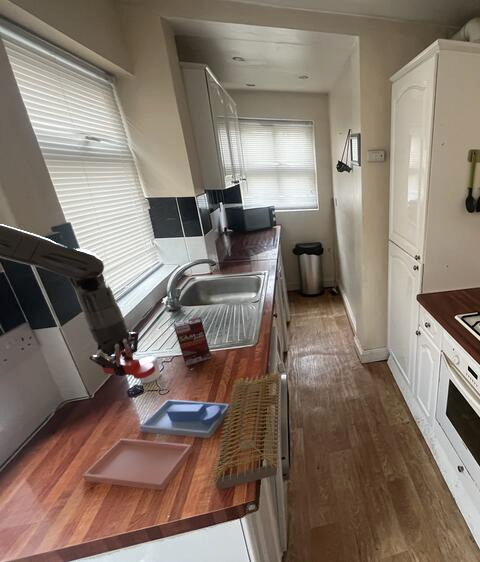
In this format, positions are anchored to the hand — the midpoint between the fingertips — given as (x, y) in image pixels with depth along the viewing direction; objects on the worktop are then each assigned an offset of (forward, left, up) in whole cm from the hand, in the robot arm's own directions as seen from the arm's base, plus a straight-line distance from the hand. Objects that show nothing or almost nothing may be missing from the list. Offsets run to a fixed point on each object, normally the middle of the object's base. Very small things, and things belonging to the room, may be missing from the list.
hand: (126, 371), depth 91 cm
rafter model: (+41, -6, -11) cm, 43 cm away
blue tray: (+21, -6, -11) cm, 25 cm away
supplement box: (+5, +21, -11) cm, 25 cm away
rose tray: (+19, -20, -11) cm, 30 cm away
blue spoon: (+24, -6, -10) cm, 27 cm away
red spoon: (+2, 0, 0) cm, 2 cm away
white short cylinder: (-5, +10, -11) cm, 16 cm away
